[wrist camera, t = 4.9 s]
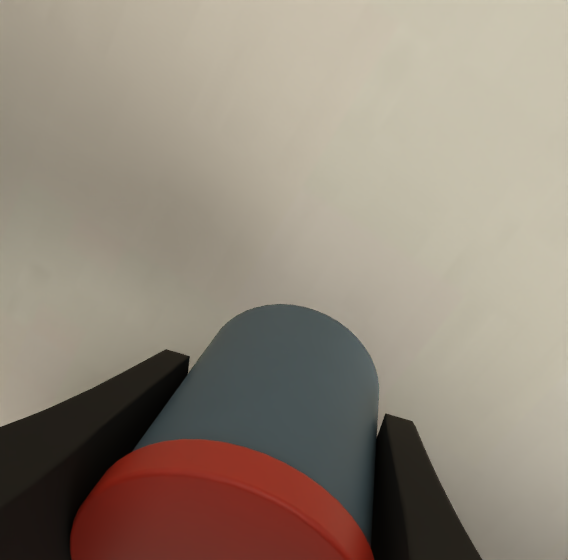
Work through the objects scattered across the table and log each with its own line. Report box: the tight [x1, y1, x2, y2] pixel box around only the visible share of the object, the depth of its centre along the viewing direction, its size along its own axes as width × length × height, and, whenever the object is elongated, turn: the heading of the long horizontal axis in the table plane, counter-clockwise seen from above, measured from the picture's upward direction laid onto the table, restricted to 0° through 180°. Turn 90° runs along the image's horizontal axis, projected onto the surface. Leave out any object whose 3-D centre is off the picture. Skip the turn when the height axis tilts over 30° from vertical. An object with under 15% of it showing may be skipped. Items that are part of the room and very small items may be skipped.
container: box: [70, 304, 379, 560], centre depth 10 cm, size 5×5×6 cm
